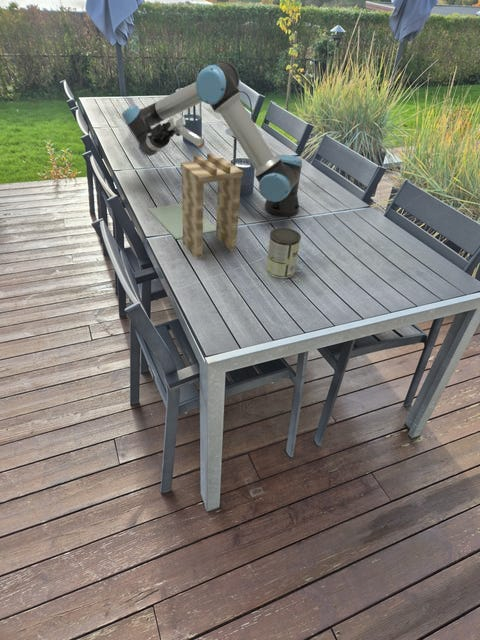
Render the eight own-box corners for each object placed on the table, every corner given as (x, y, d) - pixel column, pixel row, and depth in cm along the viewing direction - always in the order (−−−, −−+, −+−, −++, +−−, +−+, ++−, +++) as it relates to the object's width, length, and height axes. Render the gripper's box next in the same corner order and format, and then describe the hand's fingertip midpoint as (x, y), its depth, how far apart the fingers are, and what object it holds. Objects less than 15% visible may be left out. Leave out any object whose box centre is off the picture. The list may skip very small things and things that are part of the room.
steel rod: (166, 126, 160) (168, 118, 159) (173, 128, 162) (175, 120, 161) (195, 146, 145) (198, 136, 143) (203, 148, 147) (205, 139, 145)
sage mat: (148, 210, 184) (148, 208, 184) (187, 203, 192) (187, 202, 192) (176, 239, 166) (176, 238, 166) (217, 231, 174) (217, 229, 173)
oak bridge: (181, 242, 164) (180, 156, 144) (219, 234, 171) (222, 151, 151) (198, 260, 155) (199, 171, 135) (237, 251, 162) (243, 165, 142)
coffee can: (269, 260, 159) (273, 225, 150) (297, 266, 157) (303, 230, 148) (262, 275, 151) (266, 238, 142) (291, 281, 149) (298, 244, 140)
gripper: (178, 146, 179) (201, 130, 158) (141, 150, 172) (160, 133, 151) (174, 127, 177) (197, 108, 157) (136, 130, 170) (155, 110, 150)
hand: (179, 120), depth 154 cm, fingers closed on steel rod, 3 cm apart
